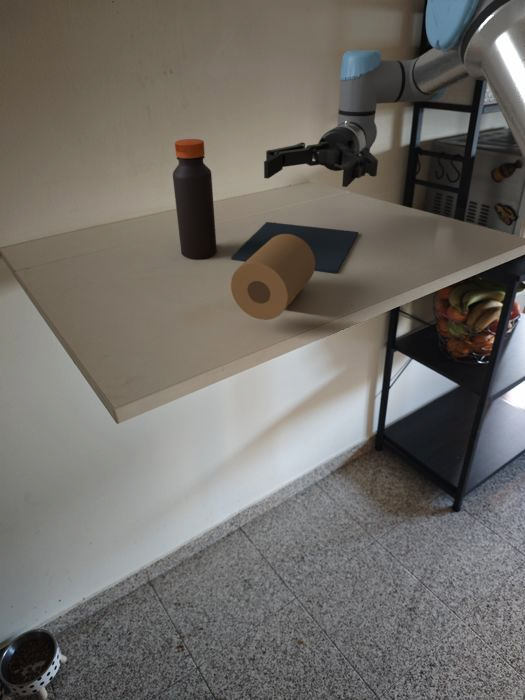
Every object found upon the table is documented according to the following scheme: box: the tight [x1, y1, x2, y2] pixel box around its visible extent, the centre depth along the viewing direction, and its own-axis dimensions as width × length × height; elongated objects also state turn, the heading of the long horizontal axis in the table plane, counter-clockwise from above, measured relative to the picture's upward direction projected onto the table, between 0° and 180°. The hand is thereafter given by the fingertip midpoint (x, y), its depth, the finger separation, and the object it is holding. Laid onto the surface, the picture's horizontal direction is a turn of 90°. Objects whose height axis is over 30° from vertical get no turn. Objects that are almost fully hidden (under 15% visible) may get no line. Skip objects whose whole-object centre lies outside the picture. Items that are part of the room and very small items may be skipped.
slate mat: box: [230, 221, 359, 275], centre depth 97 cm, size 20×20×1 cm
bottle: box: [172, 138, 218, 260], centre depth 90 cm, size 7×7×20 cm
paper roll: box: [230, 234, 315, 321], centre depth 76 cm, size 12×9×9 cm
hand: (304, 174), depth 81 cm, fingers open, 13 cm apart
